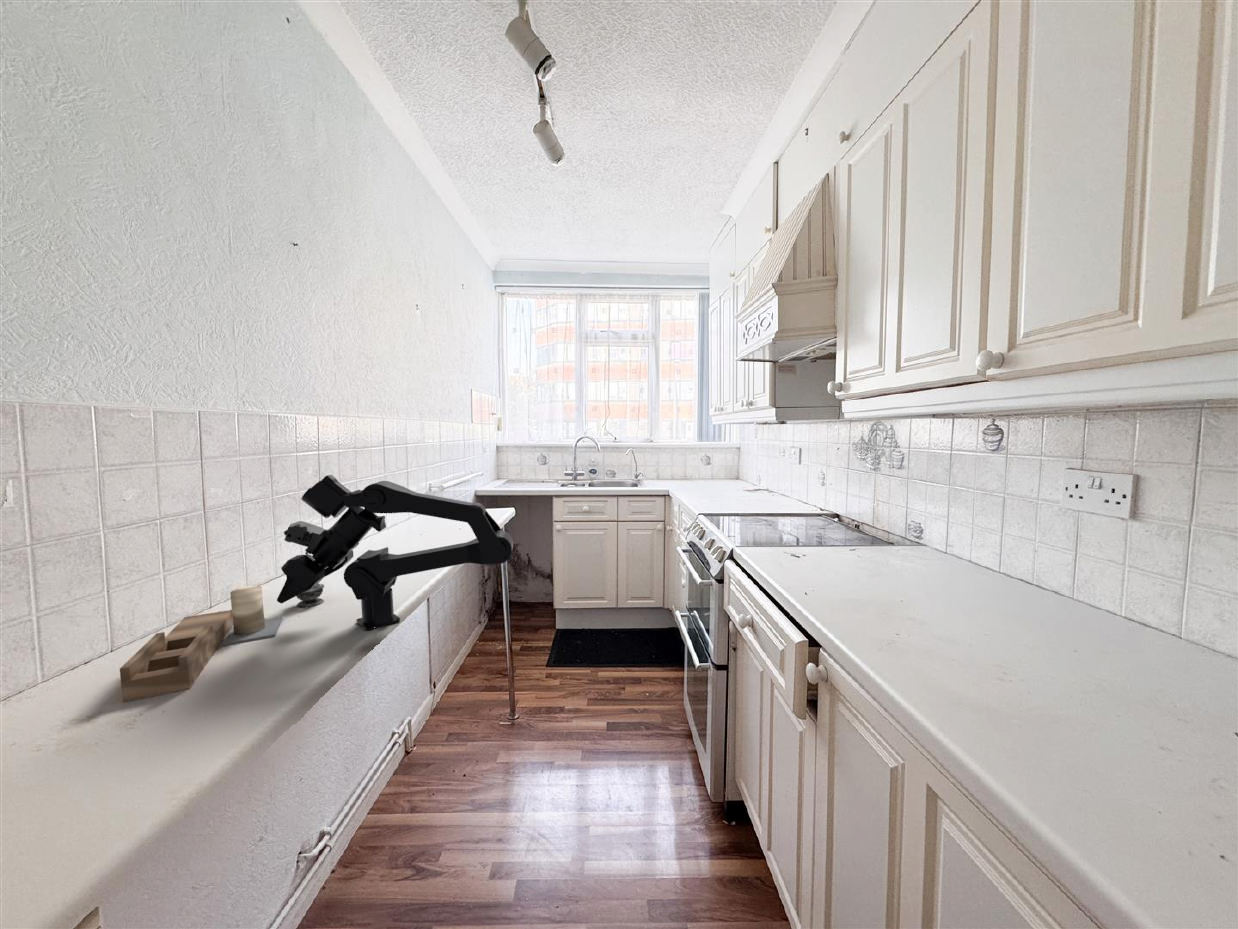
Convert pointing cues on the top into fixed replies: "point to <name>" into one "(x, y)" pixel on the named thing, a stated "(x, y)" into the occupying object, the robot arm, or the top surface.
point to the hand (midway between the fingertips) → (291, 593)
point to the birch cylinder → (247, 610)
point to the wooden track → (174, 656)
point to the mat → (267, 632)
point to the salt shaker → (311, 594)
